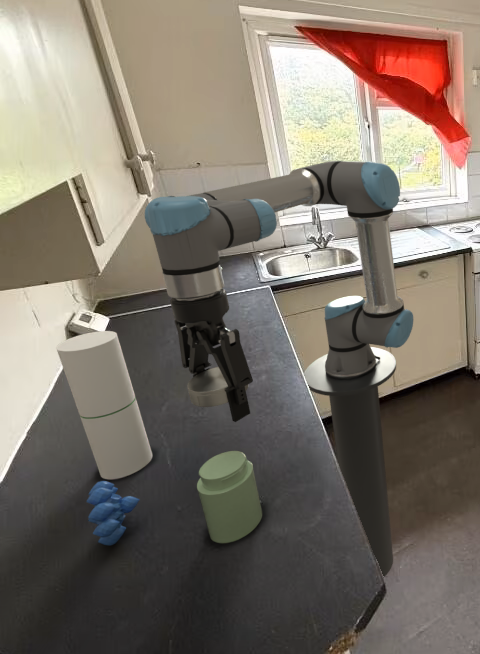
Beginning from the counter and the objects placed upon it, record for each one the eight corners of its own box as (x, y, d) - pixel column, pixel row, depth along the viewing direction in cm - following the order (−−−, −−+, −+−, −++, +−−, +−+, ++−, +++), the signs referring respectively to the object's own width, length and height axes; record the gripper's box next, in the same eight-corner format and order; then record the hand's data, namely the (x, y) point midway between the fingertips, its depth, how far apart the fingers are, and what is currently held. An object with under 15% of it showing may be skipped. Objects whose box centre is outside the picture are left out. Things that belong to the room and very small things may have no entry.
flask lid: (233, 406, 71) (229, 391, 70) (179, 408, 70) (175, 393, 69) (257, 378, 79) (254, 364, 78) (209, 380, 78) (205, 365, 77)
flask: (260, 497, 84) (248, 441, 80) (264, 528, 78) (252, 469, 74) (209, 517, 80) (194, 459, 76) (209, 552, 73) (193, 490, 69)
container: (93, 468, 91) (49, 343, 81) (143, 445, 98) (107, 327, 88) (109, 485, 86) (64, 355, 77) (159, 459, 93) (124, 337, 84)
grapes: (149, 546, 74) (132, 492, 70) (96, 571, 70) (75, 515, 66) (145, 505, 82) (130, 454, 78) (98, 525, 78) (79, 472, 74)
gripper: (262, 296, 68) (284, 414, 75) (184, 276, 76) (210, 384, 84) (214, 313, 61) (243, 441, 69) (135, 289, 70) (167, 404, 77)
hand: (225, 409), depth 76 cm, fingers closed on flask lid, 8 cm apart
